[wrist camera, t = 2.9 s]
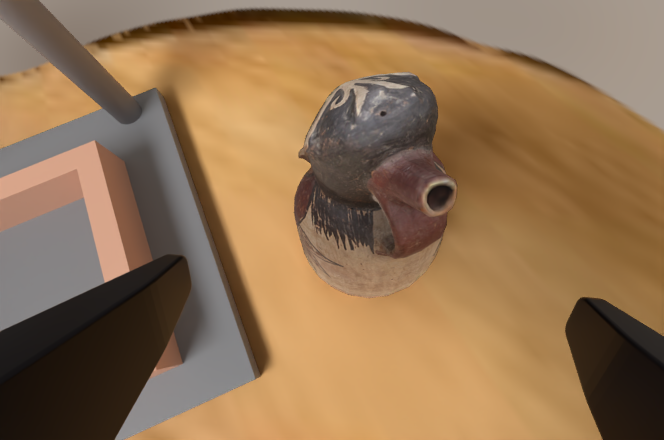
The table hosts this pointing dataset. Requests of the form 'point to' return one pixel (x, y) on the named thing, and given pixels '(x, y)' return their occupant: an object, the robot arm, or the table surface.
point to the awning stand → (114, 223)
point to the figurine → (373, 186)
